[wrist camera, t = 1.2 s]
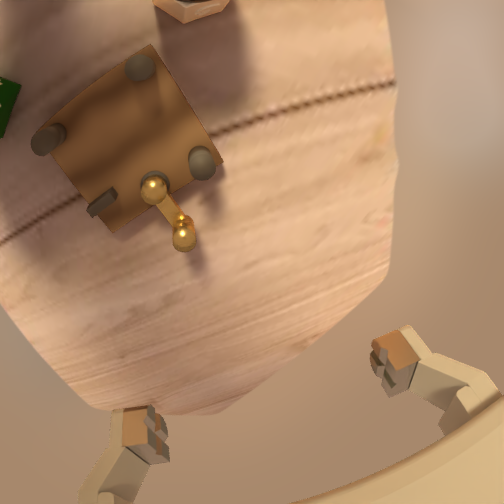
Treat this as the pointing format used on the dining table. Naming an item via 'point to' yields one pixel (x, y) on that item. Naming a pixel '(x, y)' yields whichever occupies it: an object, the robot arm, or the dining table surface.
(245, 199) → the dining table surface
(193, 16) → the jar
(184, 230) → the gold bone
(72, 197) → the dining table surface
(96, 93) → the stool seat
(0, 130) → the milk carton
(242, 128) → the dining table surface
